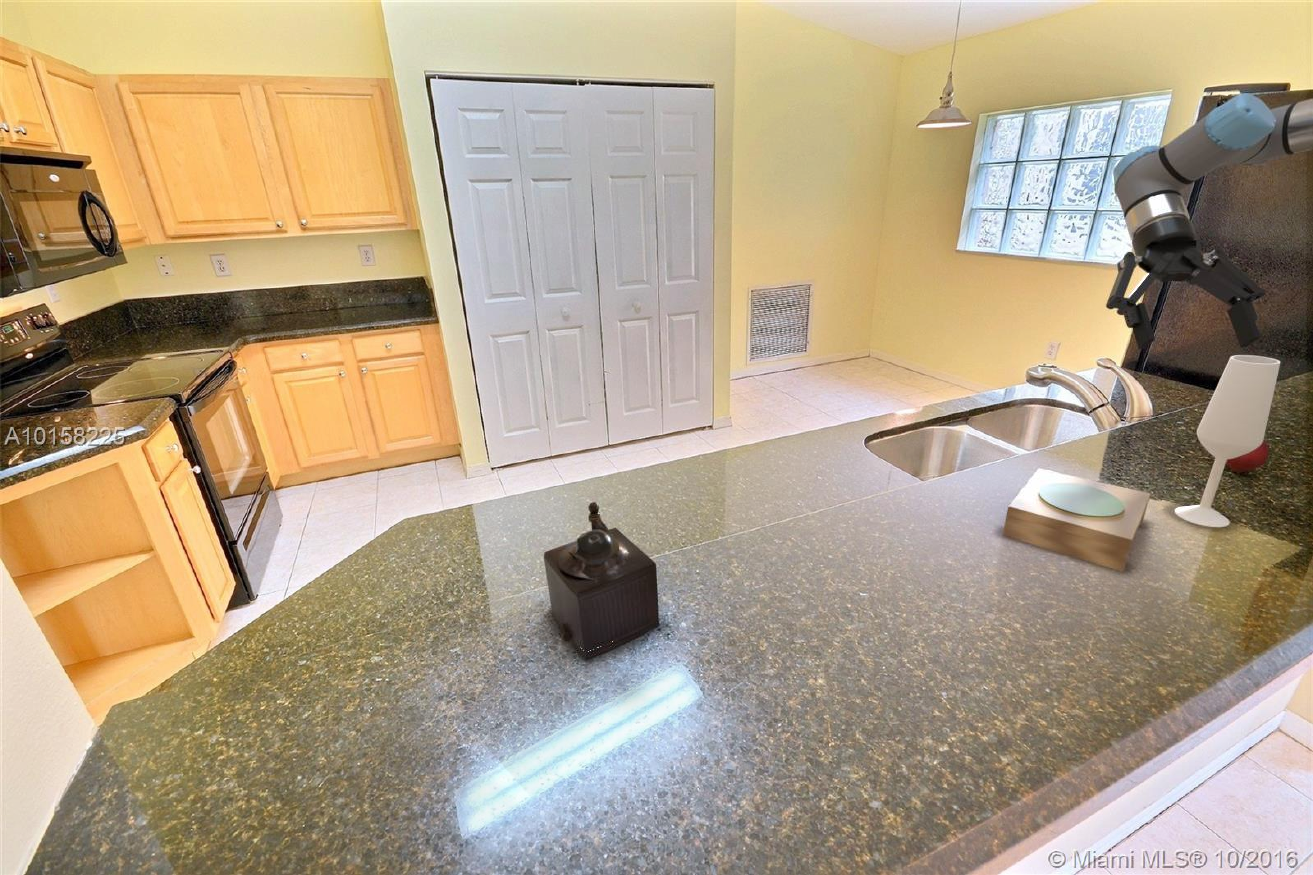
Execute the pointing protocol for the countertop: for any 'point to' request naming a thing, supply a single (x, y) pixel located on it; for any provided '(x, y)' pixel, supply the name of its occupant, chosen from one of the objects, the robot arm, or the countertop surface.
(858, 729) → the countertop surface
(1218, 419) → the champagne flute
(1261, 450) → the onion
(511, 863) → the countertop surface
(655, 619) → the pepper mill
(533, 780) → the countertop surface
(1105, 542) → the wooden display base
